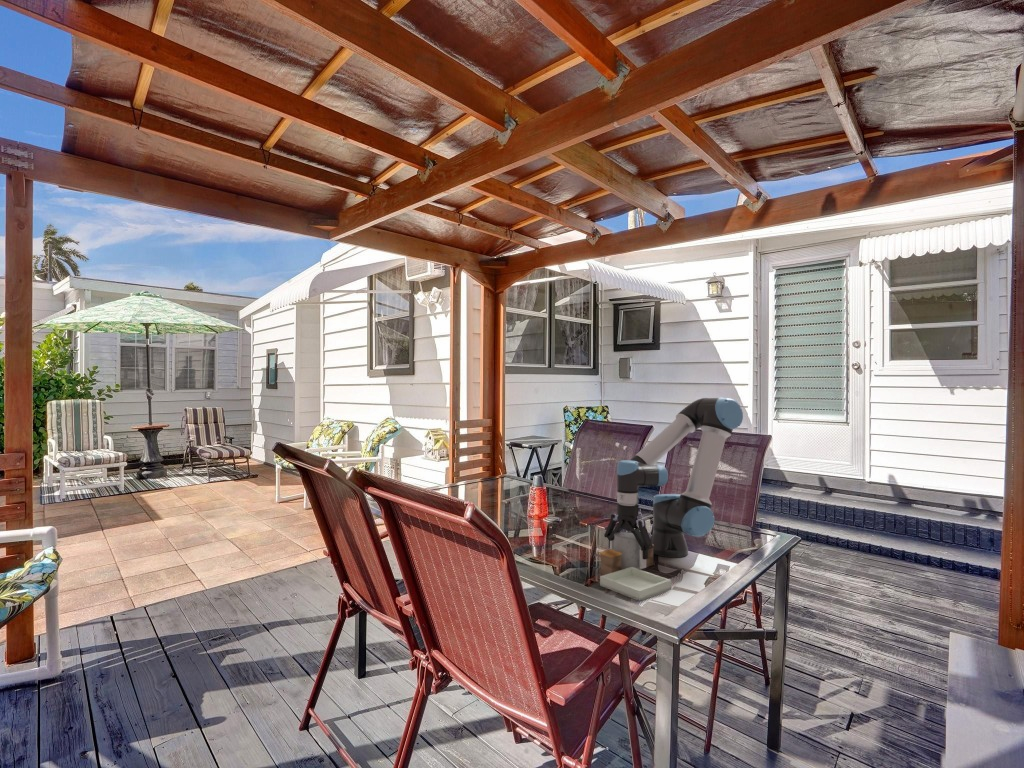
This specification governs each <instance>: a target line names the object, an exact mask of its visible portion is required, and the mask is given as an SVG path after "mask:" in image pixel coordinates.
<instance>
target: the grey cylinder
mask: <svg viewBox="0 0 1024 768" xmlns="http://www.w3.org/2000/svg"><path fill="white" fill-rule="evenodd" d="M640 549H641V547H640V545H639V543H638V541H637V540H636V538H635V536H634V534H633V533H631V531H620V532H617V533H615V534H614V551H617V552H620V553H622V555H621V570H623V569H626V568H629V567H634V568H637V569H640ZM640 570H642V569H640Z"/></svg>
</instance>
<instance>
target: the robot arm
mask: <svg viewBox="0 0 1024 768" xmlns="http://www.w3.org/2000/svg"><path fill="white" fill-rule="evenodd" d="M743 420H744V412H743V409H742V408H741V405H740V403H738V402H737V400H735V399H733V398H730V397H729V398H728V397H702V398H699V399H698V398H697V400H694V401H693V402H691V403H690V404H688V405H686V406H685V407H684V408H683V409H681V410H680V411H679V412H678V413H677V414H676V416H675V419H674V420H673V421H672V422H670V424H669V425H668V426H667V427H665V428H664V429H663V430H662V431H660V433H658V434H657V435H656V436H655V437H654V438H653V439H652V440H651V441H650V442H649V443H647V444H646V445H645V446H644V447H643V448H642V449H641V450H639V452H637V453H636V454H635V455H634V456H633V457H632V458H630V459H626V460H625V459H624V460H623V459H622V460H620V461H618V462H617V465H616V487H617V488H616V492H617V493H616V499H617V500H616V502H617V504H616V513H612V514H611V515H610V519H609V523H608V525H607V528H606V531H605V533H604V535H603V537H604V538H607V540H608V550H614V534H615V533H617V532H622V530H626V531H627V532H631V533H633V534H634V536H635V538H636V540H637V541H638V543H639V545H640V547H641V548H642V549H640V569H641V570H643V569H646V568H647V567H646V559H648V549H652V548H653V555H656V556H660V557H664V558H665V557H667V558H682V557H686V556H688V555H689V547H688V545H687V540H686V538H685V535H684V534H686V535H688V536H693V537H696V538H697V537H703V536H705V535H707V534H709V533H710V532H711V531H712V529H713V526H714V525H715V516H714V512H713V510H712V505H713V504H712V501H711V500H710V496H711V493H712V489H713V486H714V482H715V478H716V475H717V472H718V468H719V464H720V461H721V457H722V455H723V449H724V446H725V443H726V440H727V439H728V438H729V437H732V434H733V430H735V429H737V428H738V427H740V426H741V425H742V422H743ZM698 429H700V430H701V432H702V434H701V437H700V440H699V445H698V448H697V451H696V455H695V458H694V463H693V465H692V469H691V473H690V475H689V476H690V477H689V478H688V482H687V486H686V489H685V491H683V492H682V493H680V494H678V493H663V494H662V493H661V494H655V495H654V496H653V498H652V499H653V500H652V515H653V516H652V521H653V523H652V524H653V525H652V526H653V528H652V529H653V530H652V534H651V537H650V534H649V532H648V529H647V526H646V520H645V519H641V520H640V519H638V515H639V505H638V504H639V487H659V486H664V485H666V484H667V483H668V479H669V472H668V470H667V468H666V467H665V466H664V465H662V464H661V465H660V464H659V465H658V464H657V463H658V462H659V460H661V459H662V458H663V457H664V456H665V455H666V454H667V453H668V452H670V451H671V450H672V449H673V448H674V447H675V446H676V445H677V444H679V443H680V442H682V440H683V439H684V438H685V437H687V436H688V435H689V434H693V433H695V432H696V431H697V430H698ZM652 544H654V546H653V545H652Z"/></svg>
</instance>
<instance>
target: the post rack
mask: <svg viewBox="0 0 1024 768" xmlns="http://www.w3.org/2000/svg"><path fill="white" fill-rule="evenodd" d="M652 545H653V546H654V544H652ZM641 549H642V548H641ZM599 553H600V574H601V576H603V575H606V574H610V573H613V572H616V571H619V570H621V555H622V553H620V552H617V551H614V550H610V549H607V550H604V551H603V550H602V551H600V552H599ZM651 566H654V554H653V548H652V549H648V559H646V568H648V567H651Z"/></svg>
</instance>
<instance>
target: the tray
mask: <svg viewBox="0 0 1024 768" xmlns="http://www.w3.org/2000/svg"><path fill="white" fill-rule="evenodd" d="M599 585H600V587H602V588H605V589H608V590H611V591H613V592H616V593H618V594H620V595H623V596H625V597H629V598H631V599H633V600H635V601H638V602H641V601H644V600H646V599H650V598H652V597H655V596H657V595H660V594H662V593H665V592H668V591H671V590H672V579H669V578H666V577H663V576H660V575H657V574H655V573H651V572H648V571H646V570H643V569H641V570H640V569H637V568H634V567H629V568H626V569H623V570H619V571H616V572H613V573H610V574H606V575H600V576H599Z"/></svg>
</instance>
